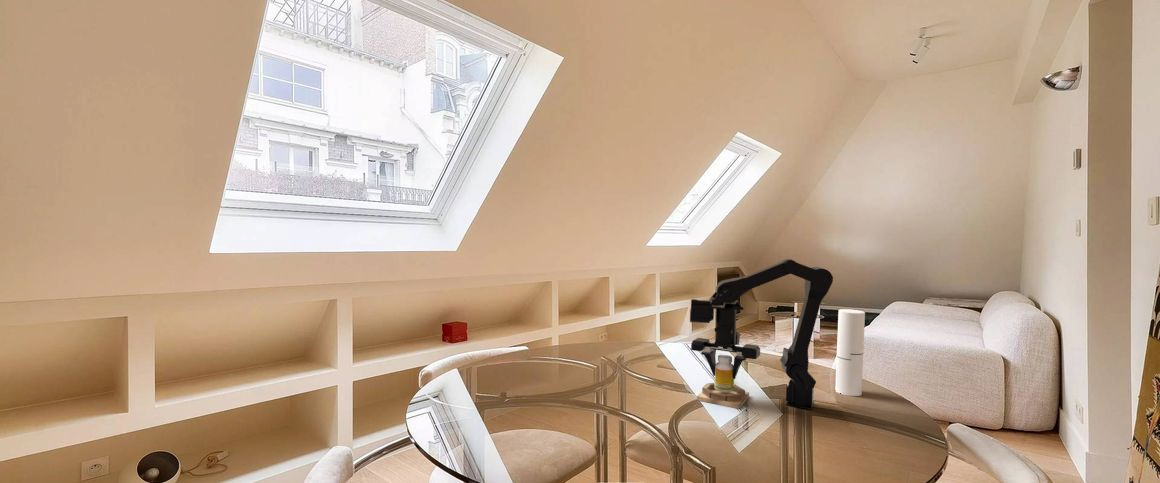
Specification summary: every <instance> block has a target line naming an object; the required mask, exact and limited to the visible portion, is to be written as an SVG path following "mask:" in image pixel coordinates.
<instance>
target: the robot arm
mask: <svg viewBox="0 0 1160 483" xmlns="http://www.w3.org/2000/svg"><path fill="white" fill-rule="evenodd" d="M789 275H793V276H796V277H798V278H800V279H803V280H804V300H803V303H802V306H801V311H800V313H799V318H798V322H797V325H796V330H795V333H794V337H793V339H792V343H791V345H790V346H789V348H786V347H783V349H782V356H781V357H780V359H779V361H780V362H781V367H782V369H783V371H784V373H785V374H786V375H787V376H788V377H789V382H788V384H787V386H786V389H785V390H786V391H785V393H786V394H785V401H786V406H790V407H796V408H799V407H800V409H804V408H805V409H804V410H813V408H812V407H814V404H815V401H814V392H815V391H814V390H815V389H814V388H815V385H816V383H817V381H816V379H815V378H814V377H813V375H812V374H811V373H810V372H809V361H810V360H809V348H810V343H811V340H812V337H813V334H814V330H815V325H816V322H817V318H818V315H819V311H820V306H821V303H822V302H823V299H824V298H825V297H826V296H827V294H828V293H829V291H830V288H831V287H832V285H833V282H834V276H833V274H832V273H831V271H829V270H828V269H825V268H824V267H823V268H822V267H820V266H812V267H810V266H806V265H805V264H801V263H799V262H798V261H797V262H796V261H795V260H794V259H791V258H785V259H783V260H781V261H779V262H778V263H777V262H776V263H775V264H772V265H769V266H767V267H765V268H762V269H759V270H757V271H755V272H752V273H750V274H747V275H745V276H741V277H733V278H728V279H723V280H720V281H719V282H718V283H717V285H716V288H715V292H714V293H713V294H712V296H710V298H709V299H708V300H707V299H706V300H705V299H697V298H696V299H695V298H691V299H690V309H689V323H693V324H695V323H696V324H697V323H698V324H710V322H712V321H714V319H715V327H714V333H715V334H714V342H710V339H709V338H703V337H697V338H695V339H693V340H692V341H691V344H690V350H691V351H693V352H694V351H695V352H700V354H701V355H703V356H704V358H705V359H706V361H707V363H708V366H709V367H710V370H711V373H712V376H713V377H715V365H716V363H717V361H716V360H717V359H716V355H717V351H719V352H720V351H721V352H728V353H736V355H735V356H734V358H733V365H734V367H733V379H734V380H735V379H736V377H737V376H738V373H739V371H740V370H739V369H740V367H741V365H742V363H743V361H746V360H747V359H749V360H757V359H758V358H759V357H760V356H761V347H760V346H759V345H755V344H750V343H749V344H748V343H746V344H745V345H743V346H739V345H740V338H741V334H740V333H739V332H738V330H737V311H743V310H744V306H742V305H741V303H740V302H739V300H737V299H738V298H740V297H742V296H744V294H746V293H747V292H748V291H750V290H752V289H755V288H757V287H760V286H762V285H765V284H768V283H770V282H772V281H775V280H778V279H781V278H782V277H785V276H789ZM722 304H723V305H722ZM714 313H715V314H714ZM714 317H715V318H714Z"/></svg>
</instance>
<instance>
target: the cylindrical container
mask: <svg viewBox="0 0 1160 483" xmlns="http://www.w3.org/2000/svg"><path fill="white" fill-rule="evenodd" d="M837 316H838V317H837V319H838V320H837V338H836V339H837V340H836V342H837V343H836V346H837V347H836V362H835V363H836V366H835V367H836V368H835V388H834V389H835V390H836V391H835V390H834V391H835V392H836V393H837V394H840V393H841V394H840V395H842V396H843V395H844V396H847V397H860V396H862V393H863V392H862V390H863V389H862V388H863V371H864V370H863V368H864V367H863V366H864V345H865V344H864V343H865V342H864V341H865V321H866V312H865V311H863V310H859V309H858V310H857V309H849V308H846V309H845V308H841V309H838V314H837Z"/></svg>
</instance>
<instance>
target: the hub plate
mask: <svg viewBox="0 0 1160 483" xmlns="http://www.w3.org/2000/svg"><path fill="white" fill-rule="evenodd" d="M701 390H702V391H701V392H700V393H699V394H698V395H697V396H696V401H698V402H699V401H700V402H704V403H709V404H713V405H718V406H719V405H720V406H723V407H728V408H732V409H733V408H734V409H737V410H738V409H741V408H742V406H743V404H745V402H746V401H747V399H749V397H750V392H749V391H746V390H745V389H744V388H742V387H740V386H738V385H736V384H734V389H733V391H731V392H721V391H718V390H716V389H715V382H710V383H705V385H703V386H702V388H701Z"/></svg>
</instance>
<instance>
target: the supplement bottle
mask: <svg viewBox="0 0 1160 483" xmlns="http://www.w3.org/2000/svg"><path fill="white" fill-rule="evenodd" d="M717 361H718V362H716V365H715V376H714V383H715V389H716V390H718V391H721V392H731V391H733V389H734V385H735V379H733V367H734V363H732V362H733V356H732V355H728V354H718V355H717Z"/></svg>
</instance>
